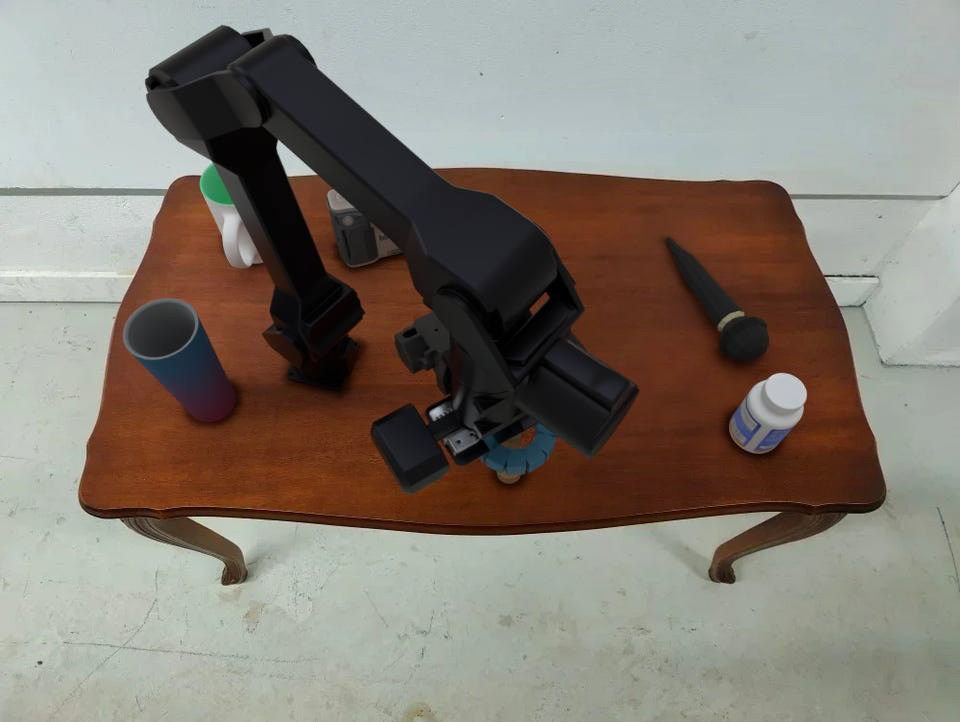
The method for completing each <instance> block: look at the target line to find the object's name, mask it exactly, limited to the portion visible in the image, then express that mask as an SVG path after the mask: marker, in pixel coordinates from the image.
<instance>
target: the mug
mask: <svg viewBox="0 0 960 722" xmlns="http://www.w3.org/2000/svg"><path fill="white" fill-rule="evenodd" d="M199 188H200V192H201V193H202V196H203V198H204V200H205V202H206V204H207V206H208V208H209V210H210V213H211V215H212V217H213V220H214V221H215V224H216V226H217V228H218V230H219V232H220V234H221V237H222V246H223V251H224V254H225V257H226V259H227V261H228V263H229V264H230V265H231V267H233V268H236V269H248V268H250V267H251V266H252V264H253V265H254V264H256V265H257V264H264V263H263V261H262V259H261V257H260V255H259V253H258V251H257V249H256V247H255V245H254V243H253V241H252V239H251V237H250V235H249V233H248V231H247V229H246V227H245V225H244V223H243V221H242V219H241V217H240V215H239V213H238V211H237V209H236V207H235V205H234V204H233V202H232V200H231V198H230V196H229V194H228V192H227V190H226V188H225V186H224V184H223V182H222V180H221V178H220V176H219V174H218V172H217V170H216V168H215V166H214V164H213V163H212V162H211V163H210V164H209V165H208V166H207V167H206V168H205V169H204V170H203V172H202V174H201V176H200V179H199Z"/></svg>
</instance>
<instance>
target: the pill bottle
mask: <svg viewBox="0 0 960 722" xmlns="http://www.w3.org/2000/svg"><path fill="white" fill-rule="evenodd" d="M807 396H808V391H807V389H806V386H805V385H804V383H803V382H802V381H801V380H800V379H799V378H797V377H796V376H795V375H793V374H791V373H785V372H778V373H774V374H772V375H771V376H769V377H768V378H767V379H765V380H761V381H759V382H758V383H756V384H755V385H754V386H752V388H751V389H750V390H749V392H748V393H747V395H746V396H745V397H744V399H743V400H742V402H741V403H740V405H739V406H738V408H737V409H736V411H734V413H733V415H732V417H731V418H730V420H729V424H728V425H729V427H728V428H729V433H730V437H731V439H732V440H733V441H734V442H735V444H736V445H737V446H739V448H741V449H742V450H744V451H746V452H749V453H752V454H758V455H759V454H766V453H769V452H770V451H772V450H773V449H775V448H776V447H777V446H778V445H779V444H780V443H781V442H782V441H783V439H784V438H785V437H787V435H788V434H789V433H790V432H791V431H792V429H794V427H795V426H796V425H797V424H798V423H799V422H800V420H801V418H802V416H803V414H804V410H805V409H804V404H805V403H806V401H807V398H808V397H807Z"/></svg>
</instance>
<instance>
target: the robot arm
mask: <svg viewBox="0 0 960 722" xmlns="http://www.w3.org/2000/svg"><path fill="white" fill-rule="evenodd" d="M144 86H145V89H146V91H147V93H146V94H145V99H146V102H147V105H148V107H149V109H150V110H151V113H152V114H153V115H154V116H155V118H156V119H157V121H158V122H159V123H160V124H161V126H162V127H163V128H164V129H165V130H166V131H167V132H168V133H169V134H170V135H171V136H173V137H174V139H175V140H176V141H177V142H178V143H180V144H181V145H183V146H185V147H186V148H188V149H190V150H192V151H193V152H195V153H197V154H198V155H200V156H202V157H204V158H206V159H207V160H209V161H211V164H212V163H213V164H214V166H215V168H216V170H217V172H218V174H219V176H220V178H221V180H222V182H223V184H224V186H225V188H226V190H227V192H228V194H229V196H230V198H231V200H232V202H233V204H234V205H235V207H236V209H237V211H238V213H239V215H240V217H241V219H242V221H243V223H244V225H245V227H246V229H247V231H248V233H249V235H250V237H251V239H252V241H253V243H254V245H255V247H256V249H257V251H258V253H259V255H260V257H261V259H262V261H263V263H262V264H263V265H264V267H265V269H266V271H267V273H268V275H269V277H270V279H271V281H272V283H273V285H274V288H273V292H272V297H271V302H270V306H269V312H268V313H269V315H270V317H271V320H272V322H273V323H272V324H271V325H270V326H269V327H268V328H266V329H265V330H264V331H263V332H261V336H262V337H263V339H264V340H265V342H266V343H267V345H268V346H269V347H270V348H271V349H272V350H273V351H274V352H276V353H277V354H278V355H279V356H281V357H282V358H284V359H285V360H286V361H288V363H290V364H291V365H290V366H289V368H288V371H287V373H286V377H287V379H288V380H290V381H292V382H297V383H300V384H305V385H309V386H313V387H317V388H322V389H326V390H328V391H329V390H330V391H334V392H341V391H342V390H343V388H344V386H345V383H346V382H347V379H348V377H349V376H351V375H352V372H353V370H354V368H355V366H356V363H357V360H358V358H359V356H358V352H359V350H360V343H359V342H358V341H356V340H354V339H353V337H351V336H349V333H350V332H351V331H352V330H353V329H354V328H355V327H356V326H357V325H358V324H360V323H361V321H363V319H364V315H365V314H366V311H365V310H364V308H363V307H362V302H361V299H360V298H359V296H358V292H357V291H356V290H355V289H354V288H353V287H351V286H350V285H349V284H347V283H345V282H344V281H343V280H341V279H340V278H338V277H336V276H334V275H332V274H331V273H329V272H328V271H327V270H326V267H325V265H324V262H323V260H322V258H321V255H320V253H319V251H318V248H317V246H316V242H315V240H314V238H313V236H312V233H311V231H310V228H309V226H308V223H307V221H306V219H305V216H304V213H303V211H302V208H301V206H300V203H299V202H298V201H299V200H298V199H297V196H296V194H295V191H294V189H293V186H292V184H291V181H290V179H289V177H288V174H287V172H286V170H285V166H284V165H283V162H282V159H281V157H280V154H279V152H278V143H279V142H280V143H281V144H282V145H283V146H285V147H286V149H288V150H289V151H290V152H291V153H292V154H293V155H294V156H296V158H298V159H299V160H300V161H302V163H303V164H305V165H306V166H307V167H308V168H309V169H310V170H312V172H314V173H315V174H316V175H317V176H318V177H319V178H320V179H321V180H322V181H324V183H326V184H327V185H328V186H329V187H330V188H332V190H333V189H334V190H335V191H336V192H337V193H339V194H340V195H341V196H342V197H343V198H344V199H345V200H346V201H348V202H349V203H350V204H351V205H352V206H353V207H354V208H355V209H357V210H358V211H359V212H360V213H361V214H362V215H363V216H364V217H365V218H367V219H368V220H369V221H370V222H371V223H372V224H373V225H374V226H376V227H377V228H378V229H379V230H380V231H381V232H382V233H383V234H385V235H386V236H387V237H388V238H389V239H390V240H391V241H392V242H393V243H394V244H395V245H396V246H397V247H398V248H399V249H400V250H401V251H402V252H403V253H402V254H403V255H404V259H405V262H406V266H407V268H408V272H409V275H410V278H411V282H412V285H413V287H414V290H415V291H416V292H417V293H418V294H419V295H420V296H421V297H422V304H423V305H424V306H425V307H427V308H428V309H429V310H430V312H428V313H426V314H423V315H422V316H420V317H418V318H417V319H414V321H413V322H412V324H411V325H408V326H407V327H405V328H403V330H401V331H399V332H397V333H395V334H394V346H395V349H396V352H397V355H398V357H399V360H401V363H403V365H404V366H405V367H406V368H407V369H408V370H409V372H410V373H411V374H413V375H416V374H417V373H419V372H421V371H423V370H424V371H425V372H428V371H431V370H432V371H433V372H434V374H435V381H436V386H437V387H438V389H439V391H440V392H441V394H442V396H444V398H442V399H440V400H438V401H436V402H434V403H432V404H431V405H429V406H427V407H426V409H425V411H424V415H425V417H426V420H427V422H428V424H427V423H426V421H425V420H424V419H423V417H422V416H421V414H420V412H419V411H418V409H417V408H416V406H415V405H414V404H412V403H411V402H408V403H406V404H404V405H402V406H401V407H398V408H397V409H395V410H393V411H391V412H390V413H388V414H386V415H383V416H382V417H380V418H377V419H376V420H375V421H372V423H371V427H370V431H369V434H370V438H371V441H372V443H373V445H374V446H375V448H376V450H377V451H378V453H379V454H380V456H381V458H382V460H383V461H384V463H385V465H386V466H387V468H388V470H389V471H390V473H391V475H392V476H393V478H394V480H395V481H396V483H397V486H399V488H400V490H401V491H402V493H405V494H408V495H415V494H417V493H418V492H420V491H422V490H423V489H425V488H427V487H429V486H430V485H432V484H434V483H435V482H437V481H439V480H440V479H442V478H443V477H444V476H445V475H446V474H447V473H448V472H449V471H450V463H449V460H448V458H447V456H446V454H445V452H444V449H445V450H446V452H447V454H448V455H449V456H450V458H451V459H452V461H453V462H454V464H455V465H456V466H458V467H466V466H467V465H470V464H471V463H473V462H474V461H476V460H477V459H480V458H479V457H481V456H483V455H485V454H486V453H488V452H490V449H489V448H488V446H487V445H486V443H485V442H484V439H486V438H487V437H489V436H491V435H493V437H494V438H495V440H496V441H497V443H498V444H500V445H502V444H504V442H505V441H507V440H509V439H511V438H513V437H515V436H517V435H519V434H520V433H522V434H523V433H524V432H526V431H528V430H529V429H531V428H534V427H533V426H535V425H536V424H538V423H540V424H541V425H542V426H544V427H545V428H546V429H548V430H549V431H551V432H552V433H553V434H555V435H556V436H557V438H559V439H560V440H562V441H563V442H564V443H566V444H568V445H569V446H570V447H571V448H572V449H575V450H576V451H577V452H579V453H580V454H581V455H583V456H584V457H585V458H587V459H588V460H591V459H593V458H594V457H595V456H597V454H598V453H599V452H600V451H601V449H603V448H604V446H606V444H607V442H608V441H609V440H610V439H611V438H612V436H613V434H615V432H616V431H617V429H618V428H619V426H620V425H621V424H622V422H623V420H624V419H625V417H626V416H627V414H628V413H629V412H630V410H631V408H632V406H633V405H634V403H635V401H636V399H637V398H638V395H639V393H640V391H641V389H640V388H638V387H639V384H637V383H636V382H634V381H633V380H631V379H629V378H628V377H627V376H625V375H624V374H622V373H621V372H619V371H617V370H616V369H614V368H613V367H612V366H610V365H609V364H607V363H606V362H604V361H603V360H601V359H600V358H598V357H596V356H595V355H593V354H592V353H590V352H589V350H588V349H587V348H586V347H585V346H584V344H582V342H581V341H580V340H579V338H578V337H577V336H576V335H575V333H574V332H573V331H572V326H573V325H574V324H575V323H576V322H577V321H578V319H579V318H580V317H581V316H582V315H583V314H584V313H585V312H586V308H585V306H584V304H583V302H582V300H581V298H580V296H579V294H578V292H577V290H576V288H575V286H576V285H577V282H576V281H575V279H574V278H573V277H572V275H571V274H570V273H571V272H569V270H568V269H567V267H566V266H565V264H564V263H563V260H562V258H561V256H560V255H559V254H558V251H557V249H556V247H555V245H554V243H553V241H552V239H551V238H550V236H549V235H548V233H547V232H546V231H545V230H544V229H543V228H542V226H541V225H538V223H536V222H535V221H534V220H532V219H530V218H529V217H527V216H525V215H524V214H523V213H521V212H520V211H518V210H517V209H515V208H514V207H512V206H511V205H510V204H508V203H507V202H506V201H504V200H503V199H501V198H499V197H498V196H497V195H495V194H494V193H491V192H485V191H482V190H475V189H471V188H466V187H461V186H455V185H454V184H453V183H451V182H450V181H449V180H446V179H445V178H444V177H442V176H441V175H440V174H439V173H438V172H437V171H435V170H434V169H433V168H432V167H431V166H430V165H428V163H426V162H425V161H424V160H423V159H422V158H420V157H419V156H418V155H417V154H416V153H415V152H414V151H413V150H412V149H410V148H409V147H408V146H407V145H406V144H405V143H404V142H403V141H402V140H400V139H399V138H398V137H397V136H395V134H393V133H392V132H391V131H389V129H387V128H386V126H384V125H383V124H382V123H381V122H380V121H379V120H378V119H376V118H375V117H374V116H373V115H372V114H371V113H370V112H368V110H366V109H365V108H363V106H361V105H360V104H359V103H358V102H357V101H356V100H355V99H353V97H351V96H350V95H349V94H348V93H347V92H346V91H344V90H343V89H342V88H341V87H340V86H338V84H336V83H335V82H334V81H333V79H331V78H329V76H327V75H326V74H325V73H324V72H323V71H322V70H320V69H319V68H318V65H317V63H316V60H315V58H314V57H313V55H312V54H311V51H309V49H308V48H307V47H306V46H305V45H304V44H303V43H302V41H301V40H300V39H298V38H297V37H295V36H293V35H292V34H287V33H283V34H275V35H274V34H273V32H272V30H271V28H270V27H265V28H264V27H263V28H258V29H253V30H248V31H243V32H242V33H240V32H239V31H238V30H236V29H234V28H233V27H231V26H229V25H225V24H220V25H219V26H217V27H216V28H214V29H212V30H211V31H208V33H206V34H204V35H202V36H201V37H199V38H198V39H196V40H194V41H193V42H191V43H189V44H188V45H187V46H185V47H183V48H182V49H180V50H178V51H176V52H175V53H174V54H172V55H170V56H169V57H167V58H165V59H164V60H162V61H160V62H159V63H157V64H156V65H154V66H153V67H151V68H149V69H148V77H146V78H144ZM544 294H546V296H548V297H547V299H546V300H545V301H544V302H543V303H542V305H540V307H538V309H536V311H535V312H533V313H532V311H531V310H530V309H531V308H532V307H533V306H534V305H536V303H537V302H538V301H539V300H540V299H541V298H542V297H543V296H544ZM291 375H292V376H291ZM338 386H339V387H338ZM439 442H441V445H442V446H443V447H444V449H443V448H442V446H441V445H440V443H439Z"/></svg>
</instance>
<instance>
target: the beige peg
mask: <svg viewBox="0 0 960 722" xmlns="http://www.w3.org/2000/svg"><path fill="white" fill-rule="evenodd" d="M522 439H523V432H522V433H520V434H519V435H517V436H515V437H513V438H511V439H509V440H507V441H505V442H503V446H504V447H506V448H508V449H521V447H522V446H521V445H522ZM496 476H497V478H498V480H499V481H501V482H502V483H505V484H514V483H516V482H518V481H519V480H520V478H521V476H522V474H513V475H506V468H505V470H504V471H503V473H502V474H501V473H499V472H497V471H496Z"/></svg>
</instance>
